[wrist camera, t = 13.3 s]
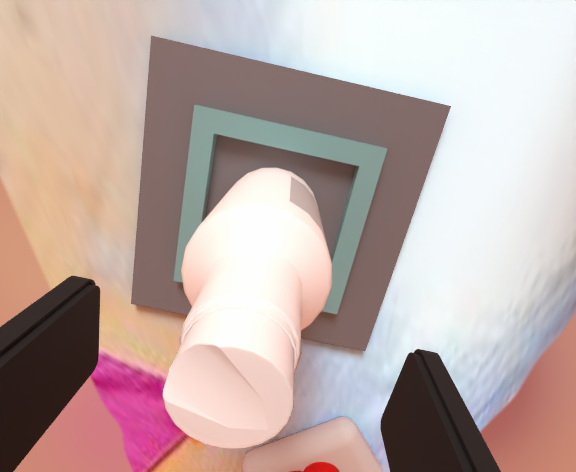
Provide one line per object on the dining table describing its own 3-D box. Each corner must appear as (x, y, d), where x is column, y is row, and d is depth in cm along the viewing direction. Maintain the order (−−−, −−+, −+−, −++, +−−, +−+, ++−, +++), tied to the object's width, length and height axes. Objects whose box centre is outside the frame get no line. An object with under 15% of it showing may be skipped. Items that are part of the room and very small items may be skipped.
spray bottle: (275, 271, 28) (242, 526, 11) (207, 214, 26) (44, 403, 9) (337, 210, 26) (417, 398, 9) (268, 145, 24) (207, 221, 7)
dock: (446, 106, 24) (457, 105, 22) (363, 345, 31) (367, 358, 29) (156, 38, 23) (144, 32, 21) (135, 298, 30) (125, 310, 28)
